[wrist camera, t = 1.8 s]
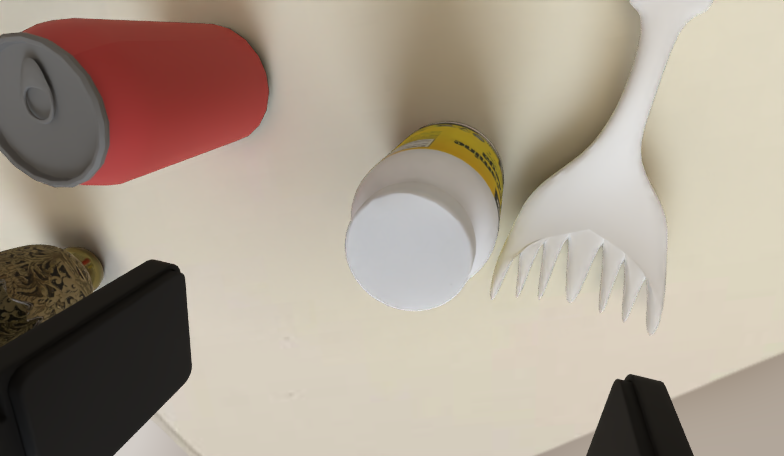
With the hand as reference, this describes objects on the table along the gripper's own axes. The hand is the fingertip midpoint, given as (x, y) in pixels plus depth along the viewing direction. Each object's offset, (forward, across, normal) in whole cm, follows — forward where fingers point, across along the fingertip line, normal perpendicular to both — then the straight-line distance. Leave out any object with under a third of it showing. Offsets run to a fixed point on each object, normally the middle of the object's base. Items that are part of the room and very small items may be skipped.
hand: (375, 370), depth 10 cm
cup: (+18, +27, +12) cm, 35 cm away
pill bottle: (+18, +1, +1) cm, 18 cm away
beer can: (+18, +15, -2) cm, 24 cm away
